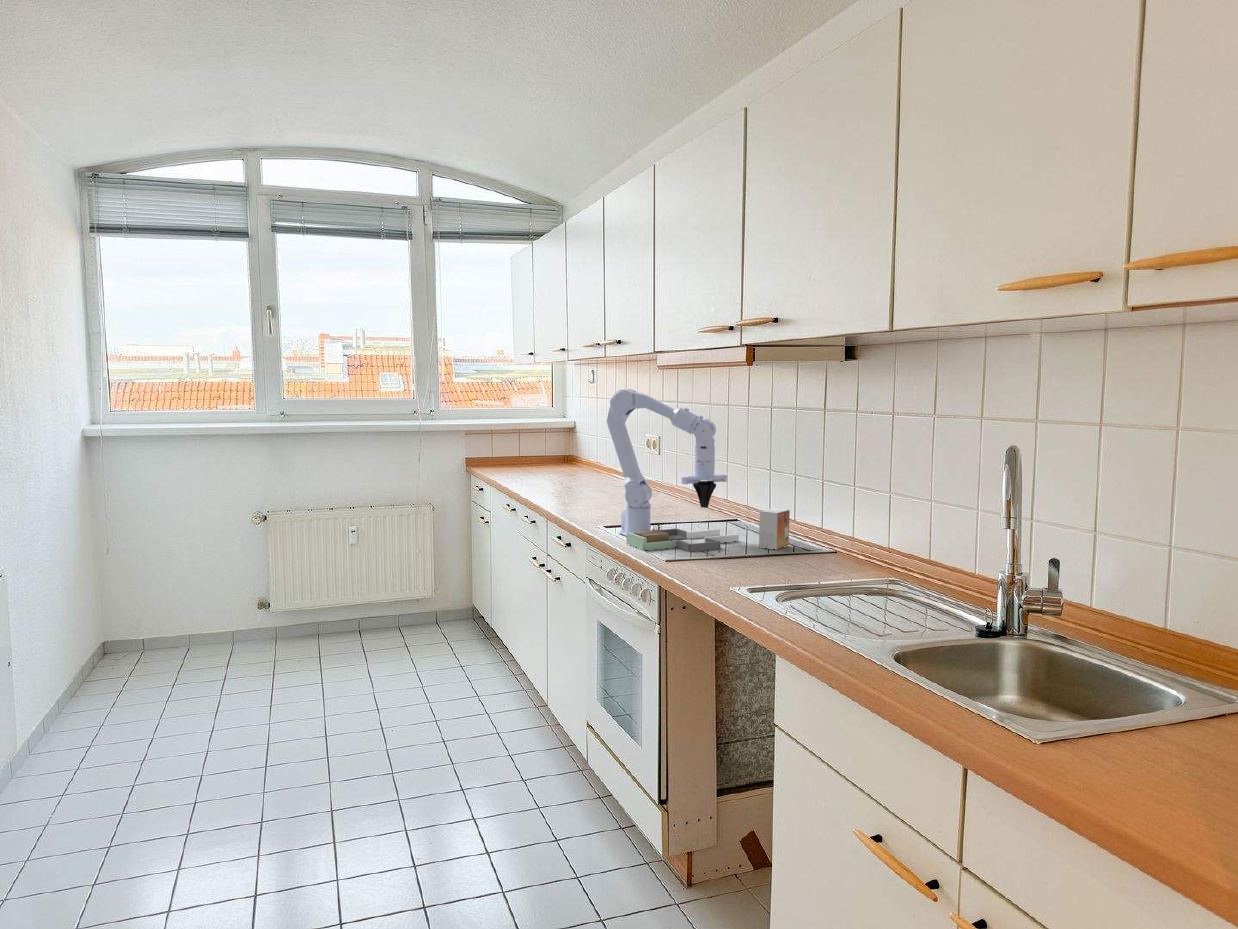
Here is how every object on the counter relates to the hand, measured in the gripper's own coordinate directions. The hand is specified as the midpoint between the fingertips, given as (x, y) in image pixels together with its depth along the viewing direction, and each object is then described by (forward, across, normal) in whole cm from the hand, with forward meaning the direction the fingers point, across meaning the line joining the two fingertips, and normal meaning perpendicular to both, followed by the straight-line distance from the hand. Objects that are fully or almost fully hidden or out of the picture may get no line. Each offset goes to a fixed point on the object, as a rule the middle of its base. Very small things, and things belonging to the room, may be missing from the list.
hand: (704, 507), depth 248 cm
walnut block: (+10, -19, -2) cm, 22 cm away
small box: (+10, +12, -18) cm, 24 cm away
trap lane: (+10, -9, -2) cm, 13 cm away
